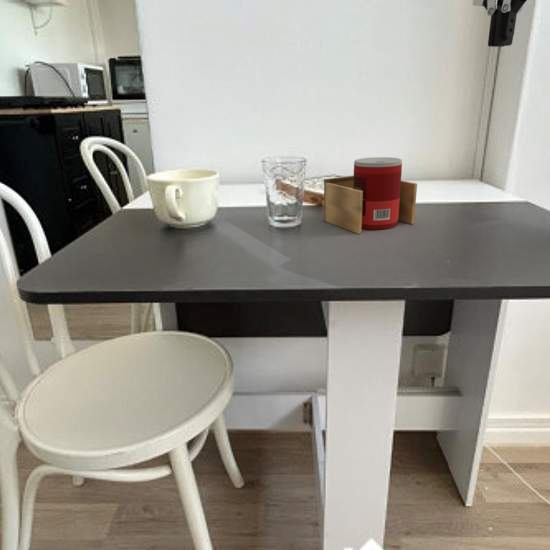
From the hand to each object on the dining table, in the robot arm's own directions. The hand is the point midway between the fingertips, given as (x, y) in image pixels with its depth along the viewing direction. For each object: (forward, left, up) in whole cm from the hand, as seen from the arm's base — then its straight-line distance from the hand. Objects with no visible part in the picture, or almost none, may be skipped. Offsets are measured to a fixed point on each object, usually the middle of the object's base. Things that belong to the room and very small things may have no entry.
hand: (499, 45), depth 64 cm
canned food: (+17, 0, -27) cm, 32 cm away
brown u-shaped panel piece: (+18, -1, -27) cm, 33 cm away
